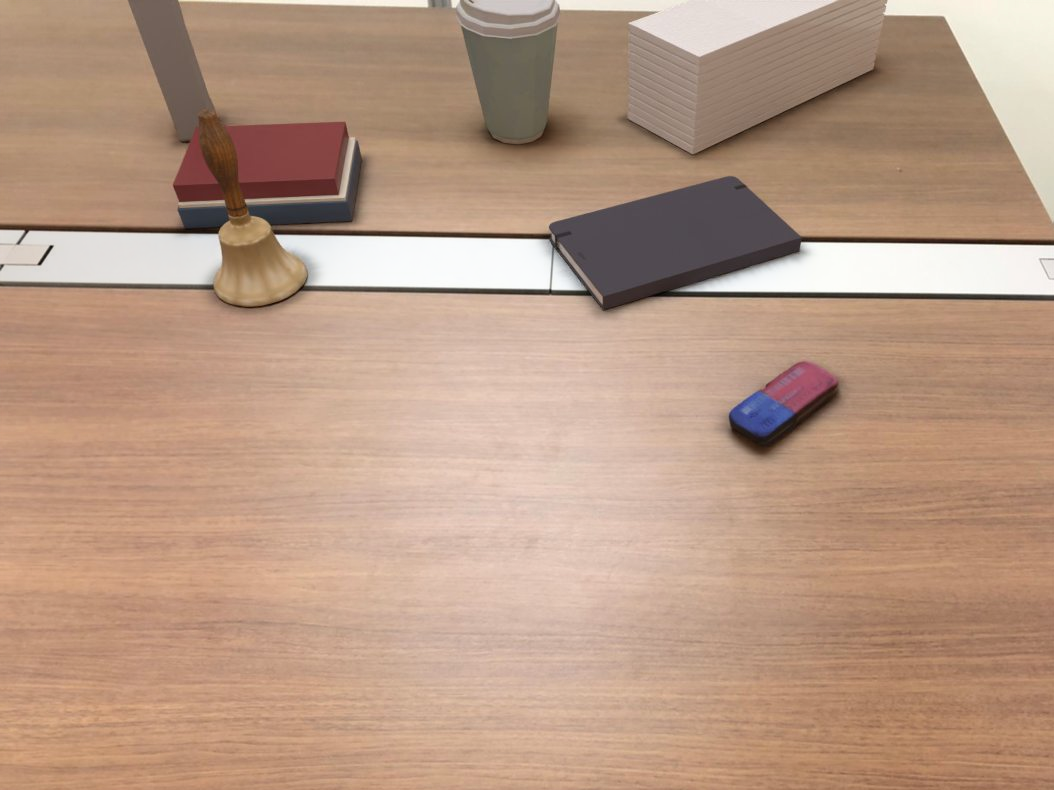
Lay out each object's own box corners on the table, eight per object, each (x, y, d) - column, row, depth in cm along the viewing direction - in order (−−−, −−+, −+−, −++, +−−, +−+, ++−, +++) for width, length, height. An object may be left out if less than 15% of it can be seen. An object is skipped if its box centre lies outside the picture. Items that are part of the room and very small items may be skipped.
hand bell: (219, 258, 88) (156, 93, 76) (309, 249, 89) (262, 86, 77) (209, 312, 82) (140, 143, 70) (305, 302, 84) (254, 135, 72)
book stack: (352, 221, 92) (342, 181, 89) (184, 229, 91) (168, 188, 88) (362, 159, 100) (353, 120, 97) (208, 165, 99) (194, 125, 95)
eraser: (805, 366, 79) (809, 350, 78) (844, 389, 77) (849, 373, 76) (719, 429, 74) (721, 413, 72) (758, 456, 72) (761, 439, 70)
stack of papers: (808, 41, 122) (821, -48, 114) (873, 69, 117) (892, -22, 109) (627, 119, 107) (628, 22, 99) (692, 155, 102) (699, 56, 94)
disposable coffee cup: (531, 100, 110) (522, -37, 99) (584, 137, 104) (581, -4, 93) (453, 125, 105) (434, -15, 94) (503, 166, 100) (489, 22, 89)
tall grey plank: (218, 117, 105) (132, -139, 87) (216, 139, 102) (127, -122, 84) (183, 121, 105) (89, -136, 86) (180, 143, 102) (83, -119, 83)
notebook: (602, 310, 84) (800, 250, 90) (602, 296, 82) (802, 237, 89) (546, 237, 91) (732, 187, 98) (545, 223, 90) (734, 174, 97)
